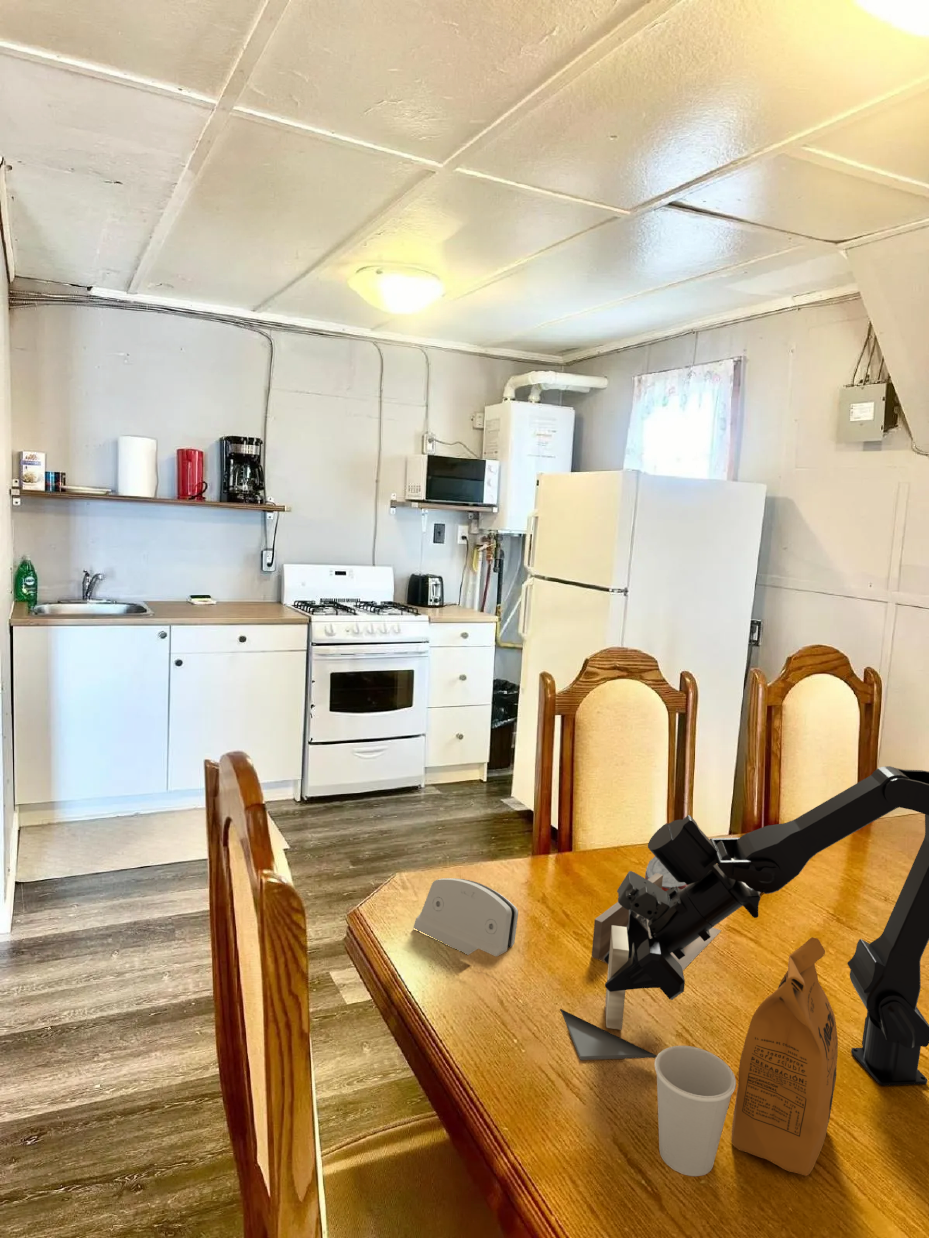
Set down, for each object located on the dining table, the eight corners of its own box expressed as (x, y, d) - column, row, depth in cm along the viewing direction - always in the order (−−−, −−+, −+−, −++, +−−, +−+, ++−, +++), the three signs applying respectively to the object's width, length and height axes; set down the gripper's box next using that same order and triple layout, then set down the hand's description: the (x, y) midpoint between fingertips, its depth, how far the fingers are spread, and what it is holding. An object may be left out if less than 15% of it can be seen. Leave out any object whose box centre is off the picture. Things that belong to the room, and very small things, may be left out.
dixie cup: (694, 1118, 93) (702, 1038, 91) (743, 1175, 85) (753, 1088, 84) (631, 1135, 90) (639, 1052, 88) (676, 1195, 82) (686, 1105, 81)
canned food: (695, 926, 146) (708, 892, 141) (639, 913, 148) (650, 879, 142) (694, 875, 155) (707, 841, 150) (642, 863, 157) (652, 829, 151)
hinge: (410, 928, 131) (427, 867, 132) (427, 927, 134) (443, 867, 136) (496, 968, 121) (512, 900, 122) (511, 965, 125) (527, 900, 126)
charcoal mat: (671, 1056, 103) (672, 1053, 103) (580, 1059, 102) (580, 1056, 101) (639, 999, 115) (640, 996, 115) (557, 1001, 113) (557, 998, 113)
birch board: (620, 1002, 111) (626, 926, 109) (621, 1029, 105) (628, 950, 103) (605, 1000, 111) (611, 925, 110) (606, 1027, 105) (613, 948, 104)
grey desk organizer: (720, 938, 133) (725, 895, 132) (664, 997, 116) (669, 948, 115) (652, 913, 140) (656, 872, 139) (590, 965, 123) (594, 919, 122)
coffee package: (842, 1127, 93) (866, 947, 90) (811, 1195, 83) (836, 996, 80) (755, 1085, 99) (774, 916, 96) (717, 1144, 89) (737, 957, 86)
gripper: (652, 831, 114) (568, 896, 117) (664, 892, 95) (564, 967, 98) (705, 891, 113) (619, 954, 117) (727, 963, 95) (624, 1036, 98)
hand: (606, 974), depth 107 cm, fingers closed on birch board, 6 cm apart
